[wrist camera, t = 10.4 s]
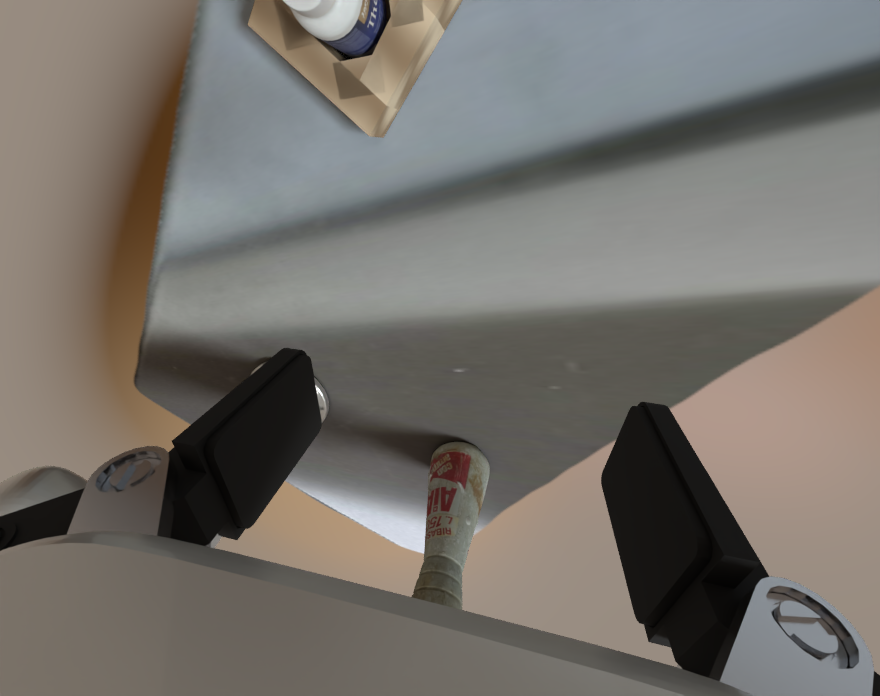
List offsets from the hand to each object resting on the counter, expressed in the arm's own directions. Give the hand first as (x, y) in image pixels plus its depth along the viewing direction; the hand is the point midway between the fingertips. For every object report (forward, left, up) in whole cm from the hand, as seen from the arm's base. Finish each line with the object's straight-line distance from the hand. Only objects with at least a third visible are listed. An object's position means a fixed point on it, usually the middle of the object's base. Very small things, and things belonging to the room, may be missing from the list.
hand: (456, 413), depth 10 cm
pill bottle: (+5, +20, -28) cm, 35 cm away
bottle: (-28, -19, -28) cm, 44 cm away
